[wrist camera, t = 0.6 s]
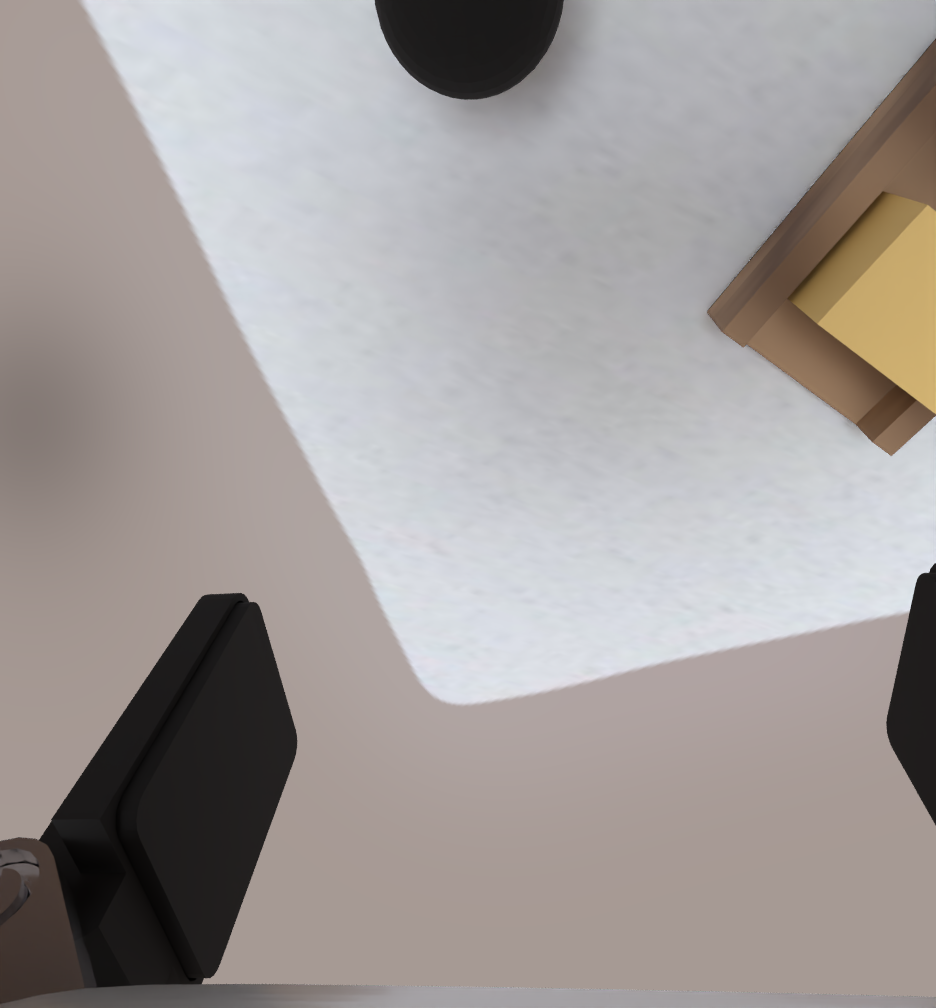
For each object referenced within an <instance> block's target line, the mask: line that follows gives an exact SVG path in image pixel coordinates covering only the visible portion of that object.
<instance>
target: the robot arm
mask: <svg viewBox="0 0 936 1008" xmlns="http://www.w3.org/2000/svg"><path fill="white" fill-rule="evenodd" d="M887 734H888V738H889V741H890V744H891V746H892V748H893V750H894V752H895V754H896V755H897V757H898V759H899V761H900V763H901V764H902V766H903V768H904V769H905V771H906V773H907V775H908V777H909V778H910V780H911V782H912V784H913V785H914V787H915V789H916V791H917V793H918V794H919V796H920V798H921V800H922V802H923V804H924V805H925V807H926V809H927V811H928V812H929V814H930V816H931V818H932V820H933V821H934V823H935V825H936V563H935V564H934V565H933V566H932V568H931V569H930V572H929V573H923V574H921V575H920V576H919V577H918V579H917V582H916V586H915V590H914V595H913V600H912V604H911V609H910V613H909V619H908V623H907V627H906V633H905V637H904V641H903V646H902V651H901V656H900V660H899V664H898V669H897V674H896V678H895V683H894V688H893V692H892V697H891V702H890V706H889V711H888V715H887ZM296 749H297V734H296V729H295V726H294V723H293V719H292V716H291V712H290V709H289V705H288V702H287V699H286V695H285V692H284V688H283V685H282V681H281V678H280V675H279V671H278V668H277V664H276V661H275V658H274V654H273V651H272V648H271V644H270V640H269V637H268V634H267V630H266V627H265V623H264V620H263V616H262V613H261V610H260V607H259V606H258V604H257V603H255V602H249V601H248V599H247V597H246V596H245V595H244V594H242V593H232V594H210V595H204V596H202V597H201V599H200V600H199V601H198V602H197V604H196V605H195V607H194V608H193V610H192V611H191V613H190V614H189V616H188V617H187V619H186V620H185V622H184V623H183V625H182V626H181V628H180V629H179V631H178V632H177V634H176V635H175V637H174V638H173V640H172V641H171V643H170V644H169V646H168V647H167V648H166V650H165V651H164V653H163V654H162V656H161V658H160V659H159V660H158V662H157V663H156V665H155V666H154V668H153V669H152V671H151V672H150V674H149V675H148V677H147V678H146V680H145V681H144V683H143V684H142V686H141V687H140V689H139V690H138V692H137V693H136V695H135V696H134V697H133V699H132V700H131V702H130V703H129V705H128V706H127V708H126V710H125V711H124V712H123V714H122V715H121V717H120V718H119V720H118V721H117V723H116V724H115V726H114V727H113V729H112V730H111V732H110V733H109V735H108V736H107V738H106V739H105V741H104V742H103V744H102V745H101V747H100V748H99V749H98V751H97V753H96V754H95V756H94V757H93V758H92V760H91V761H90V763H89V764H88V766H87V767H86V769H85V770H84V772H83V773H82V775H81V776H80V778H79V779H78V781H77V782H76V784H75V785H74V787H73V788H72V790H71V791H70V793H69V794H68V796H67V797H66V799H65V800H64V801H63V803H62V804H61V806H60V808H59V809H58V810H57V812H56V813H55V815H54V816H53V818H52V819H51V820H52V821H51V823H50V825H49V826H48V828H47V829H46V830H45V832H44V834H43V835H42V836H41V838H40V839H39V840H37V839H33V838H21V837H18V838H13V839H8V840H3V841H0V1008H936V997H916V996H914V997H913V996H876V995H835V994H834V995H833V994H794V993H756V992H710V991H709V992H708V991H662V990H661V991H660V990H613V989H612V990H611V989H560V988H507V987H505V988H504V987H446V986H445V987H444V986H440V987H439V986H375V985H304V984H299V985H298V984H202V982H203V979H204V978H211V977H212V976H214V974H215V973H216V971H217V969H218V967H219V965H220V963H221V960H222V957H223V954H224V951H225V949H226V946H227V943H228V940H229V938H230V935H231V932H232V929H233V927H234V924H235V921H236V918H237V916H238V913H239V910H240V907H241V904H242V902H243V899H244V896H245V894H246V891H247V888H248V885H249V883H250V880H251V877H252V874H253V872H254V869H255V866H256V863H257V861H258V858H259V855H260V852H261V850H262V847H263V844H264V841H265V839H266V836H267V833H268V830H269V827H270V825H271V822H272V819H273V817H274V814H275V811H276V808H277V806H278V803H279V800H280V797H281V795H282V792H283V789H284V786H285V784H286V781H287V778H288V775H289V772H290V770H291V767H292V764H293V762H294V759H295V755H296Z"/></svg>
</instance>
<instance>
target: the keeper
mask: <svg viewBox="0 0 936 1008" xmlns="http://www.w3.org/2000/svg"><path fill="white" fill-rule="evenodd" d="M787 299H789V300H790V301H791V302H792V303H793V304H794V305H796V306H797V307H798V308H799V309H800V310H802V311H803V312H804V313H805V314H806V315H807V316H809V317H810V318H811V319H812V320H813V321H814V322H816V323H817V324H818V325H819V326H821V327H822V328H823V329H825V330H826V331H827V332H829V333H830V334H831V335H833V336H834V337H835V338H836V339H838V340H839V341H840V342H842V343H843V344H844V345H846V346H847V347H848V348H850V349H851V350H852V351H853V352H855V353H856V354H857V355H859V356H860V357H861V358H863V359H864V360H865V361H867V362H868V363H869V364H871V365H872V366H873V367H874V368H876V369H877V370H878V371H880V372H881V373H882V374H884V375H885V376H886V377H888V378H889V379H890V380H891V381H893V382H894V383H895V384H897V385H898V386H899V387H901V388H902V389H903V390H905V391H906V392H907V393H909V394H910V395H911V396H912V397H914V398H915V399H916V400H918V401H919V402H920V403H922V404H923V405H924V406H926V407H927V408H928V409H929V410H931V411H932V412H933V413H935V414H936V211H935V210H933V209H932V208H931V207H930V206H929V205H927V204H923V203H920V202H917V201H913V200H910V199H907V198H904V197H900V196H897V195H894V194H890V193H887V192H884V191H882V193H881V194H880V195H879V196H878V197H877V198H876V199H875V200H874V202H873V203H872V204H871V205H870V206H869V207H868V208H867V209H866V210H865V212H864V213H863V214H862V215H861V216H860V217H859V218H858V219H857V221H856V222H855V223H854V224H853V225H852V226H851V227H850V228H849V230H848V231H847V232H846V233H845V234H844V235H843V236H842V237H841V239H840V240H839V241H838V242H837V243H836V244H835V245H834V246H833V248H832V249H831V250H830V251H829V252H828V253H827V254H826V255H825V257H824V258H823V259H822V260H821V261H820V262H819V263H818V264H817V266H816V267H815V268H814V269H813V270H812V271H811V272H810V273H809V275H808V276H807V277H806V278H805V279H804V280H803V281H802V282H801V284H800V285H799V286H798V287H797V288H796V289H795V290H794V291H793V293H792V294H791V295H790V296H789V297H788V298H787Z"/></svg>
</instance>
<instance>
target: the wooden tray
mask: <svg viewBox="0 0 936 1008" xmlns="http://www.w3.org/2000/svg"><path fill="white" fill-rule="evenodd" d="M882 191H884V192H887V193H890V194H894V195H897V196H900V197H904V198H907V199H910V200H913V201H917V202H920V203H923V204H927V205H929V206H930V207H931V208H932V209H933V210H935V211H936V39H935V41H934V42H933V43H932V44H931V45H930V46H929V48H928V49H927V50H926V51H925V52H924V54H923V55H922V56H921V57H920V58H919V60H918V61H917V62H916V63H915V64H914V66H913V67H912V68H911V69H910V70H909V72H908V73H907V74H906V75H905V76H904V77H903V79H902V80H901V81H900V82H899V83H898V85H897V86H896V87H895V88H894V89H893V91H892V92H891V93H890V94H889V95H888V97H887V98H886V99H885V100H884V101H883V103H882V104H881V105H880V106H879V107H878V108H877V110H876V111H875V112H874V113H873V114H872V116H871V117H870V118H869V119H868V120H867V122H866V123H865V124H864V125H863V126H862V128H861V129H860V130H859V131H858V132H857V134H856V135H855V136H854V137H853V138H852V139H851V141H850V142H849V143H848V144H847V145H846V147H845V148H844V149H843V150H842V151H841V153H840V154H839V155H838V156H837V157H836V159H835V160H834V161H833V162H832V163H831V164H830V166H829V167H828V168H827V169H826V170H825V172H824V173H823V174H822V175H821V176H820V178H819V179H818V180H817V181H816V182H815V184H814V185H813V186H812V187H811V188H810V190H809V191H808V192H807V193H806V194H805V195H804V197H803V198H802V199H801V200H800V201H799V203H798V204H797V205H796V206H795V207H794V209H793V210H792V211H791V212H790V213H789V215H788V216H787V217H786V218H785V219H784V221H783V222H782V223H781V224H780V225H779V226H778V228H777V229H776V230H775V231H774V232H773V234H772V235H771V236H770V237H769V238H768V240H767V241H766V242H765V243H764V244H763V246H762V247H761V248H760V249H759V250H758V252H757V253H756V254H755V255H754V256H753V257H752V259H751V260H750V261H749V262H748V263H747V265H746V266H745V267H744V268H743V269H742V271H741V272H740V273H739V274H738V275H737V277H736V278H735V279H734V280H733V281H732V282H731V284H730V285H729V286H728V287H727V288H726V290H725V291H724V292H723V293H722V294H721V296H720V297H719V298H718V299H717V300H716V302H715V303H714V304H713V305H712V306H711V308H710V309H709V310H708V311H707V313H708V314H709V315H710V317H711V318H712V319H713V321H714V322H715V323H716V325H717V326H718V327H719V329H720V330H721V331H722V332H723V333H724V334H726V335H727V336H728V337H730V338H731V339H732V340H734V341H735V342H736V343H738V344H739V345H741V346H742V347H743V348H744V346H745V345H746V344H747V345H748V346H750V347H751V348H753V349H754V350H755V351H757V352H758V353H759V354H761V355H762V356H763V357H765V358H766V359H767V360H769V361H770V362H772V363H773V364H774V365H776V366H777V367H778V368H780V369H781V370H782V371H784V372H785V373H787V374H788V375H789V376H791V377H792V378H793V379H795V380H796V381H797V382H799V383H800V384H801V385H803V386H804V387H806V388H807V389H808V390H810V391H811V392H812V393H814V394H815V395H816V396H818V397H819V398H821V399H822V400H823V401H825V402H826V403H827V404H829V405H830V406H831V407H833V408H834V409H835V410H837V411H838V412H840V413H841V414H842V415H844V416H845V417H846V418H848V419H849V420H850V421H852V422H853V423H855V424H856V425H857V426H858V427H859V428H860V430H861V431H862V432H863V433H864V434H865V435H866V436H867V437H868V438H869V439H870V440H871V441H872V442H873V443H874V444H876V445H877V446H878V447H880V448H881V449H882V450H884V451H885V452H887V453H888V454H889V455H891V456H892V455H893V454H894V453H895V452H896V451H898V450H899V449H900V448H901V447H902V446H903V445H904V444H905V443H906V442H907V441H908V440H910V439H911V438H912V437H913V436H914V435H915V434H916V433H917V432H918V431H919V430H921V429H922V428H923V427H924V426H925V425H926V424H927V423H928V422H929V421H930V420H931V419H933V418H934V417H935V416H936V414H935V413H933V412H932V411H931V410H929V409H928V408H927V407H926V406H924V405H923V404H922V403H920V402H919V401H918V400H916V399H915V398H914V397H912V396H911V395H910V394H909V393H907V392H906V391H905V390H903V389H902V388H901V387H899V386H898V385H897V384H895V383H894V382H893V381H891V380H890V379H889V378H888V377H886V376H885V375H884V374H882V373H881V372H880V371H878V370H877V369H876V368H874V367H873V366H872V365H871V364H869V363H868V362H867V361H865V360H864V359H863V358H861V357H860V356H859V355H857V354H856V353H855V352H853V351H852V350H851V349H850V348H848V347H847V346H846V345H844V344H843V343H842V342H840V341H839V340H838V339H836V338H835V337H834V336H833V335H831V334H830V333H829V332H827V331H826V330H825V329H823V328H822V327H821V326H819V325H818V324H817V323H816V322H814V321H813V320H812V319H811V318H810V317H809V316H807V315H806V314H805V313H804V312H803V311H802V310H800V309H799V308H798V307H797V306H796V305H794V304H793V303H792V302H791V301H790V300H789V299H787V298H788V297H789V296H790V295H791V294H792V293H793V291H794V290H795V289H796V288H797V287H798V286H799V285H800V284H801V282H802V281H803V280H804V279H805V278H806V277H807V276H808V275H809V273H810V272H811V271H812V270H813V269H814V268H815V267H816V266H817V264H818V263H819V262H820V261H821V260H822V259H823V258H824V257H825V255H826V254H827V253H828V252H829V251H830V250H831V249H832V248H833V246H834V245H835V244H836V243H837V242H838V241H839V240H840V239H841V237H842V236H843V235H844V234H845V233H846V232H847V231H848V230H849V228H850V227H851V226H852V225H853V224H854V223H855V222H856V221H857V219H858V218H859V217H860V216H861V215H862V214H863V213H864V212H865V210H866V209H867V208H868V207H869V206H870V205H871V204H872V203H873V202H874V200H875V199H876V198H877V197H878V196H879V195H880V194H881V193H882Z"/></svg>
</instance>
